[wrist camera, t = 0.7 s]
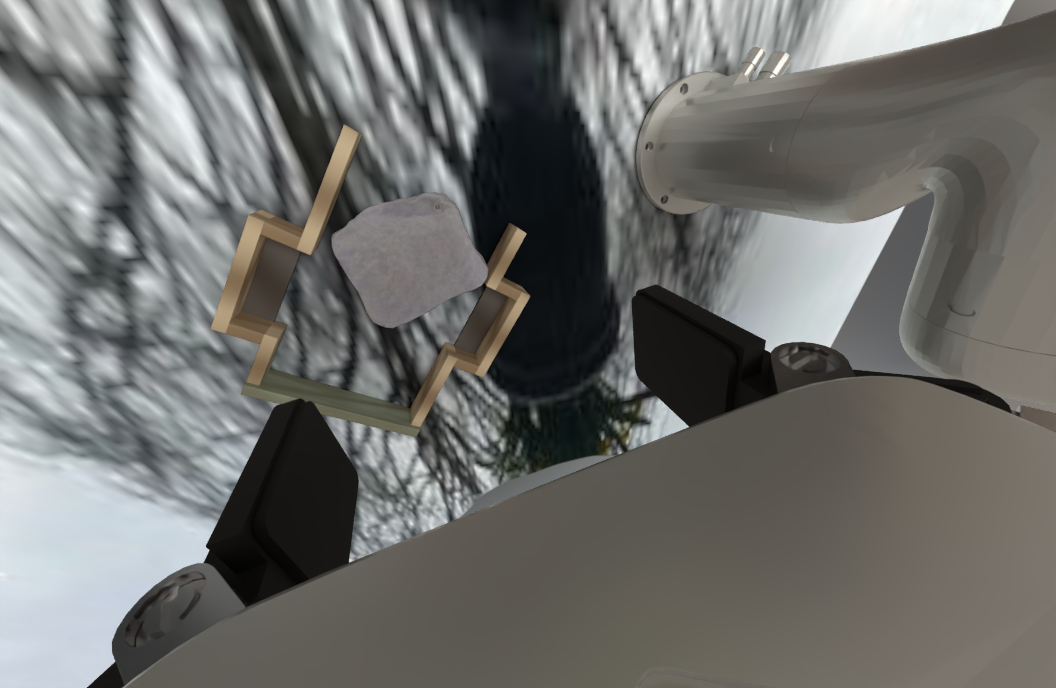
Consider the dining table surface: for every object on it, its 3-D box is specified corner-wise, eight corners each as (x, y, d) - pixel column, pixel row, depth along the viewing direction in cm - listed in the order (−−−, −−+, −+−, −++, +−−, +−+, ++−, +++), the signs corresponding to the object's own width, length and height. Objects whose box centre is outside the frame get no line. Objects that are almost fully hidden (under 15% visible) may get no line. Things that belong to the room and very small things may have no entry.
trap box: (300, 97, 27) (287, 91, 24) (546, 244, 38) (558, 252, 35) (209, 361, 34) (191, 382, 31) (443, 424, 44) (446, 444, 41)
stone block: (324, 234, 34) (385, 328, 37) (308, 232, 29) (378, 340, 33) (442, 178, 35) (490, 274, 38) (444, 168, 30) (498, 279, 34)
